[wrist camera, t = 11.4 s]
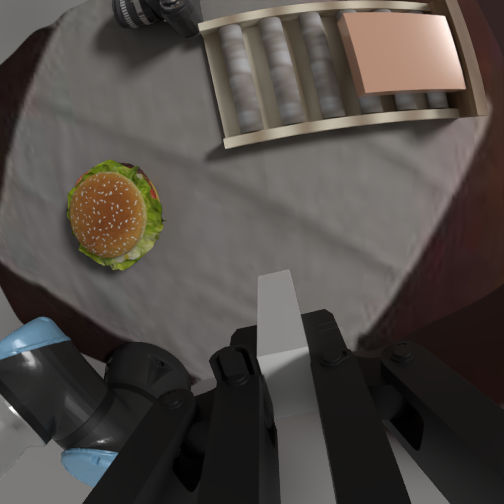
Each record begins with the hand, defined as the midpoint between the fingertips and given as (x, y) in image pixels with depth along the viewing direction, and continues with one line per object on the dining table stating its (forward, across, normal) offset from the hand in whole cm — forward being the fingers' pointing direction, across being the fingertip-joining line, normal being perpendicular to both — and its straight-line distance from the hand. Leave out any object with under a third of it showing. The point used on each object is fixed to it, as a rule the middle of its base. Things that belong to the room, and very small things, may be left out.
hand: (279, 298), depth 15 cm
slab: (+23, +21, +16) cm, 35 cm away
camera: (+28, -6, +32) cm, 43 cm away
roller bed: (+27, +13, +16) cm, 34 cm away
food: (+28, -19, +4) cm, 34 cm away
